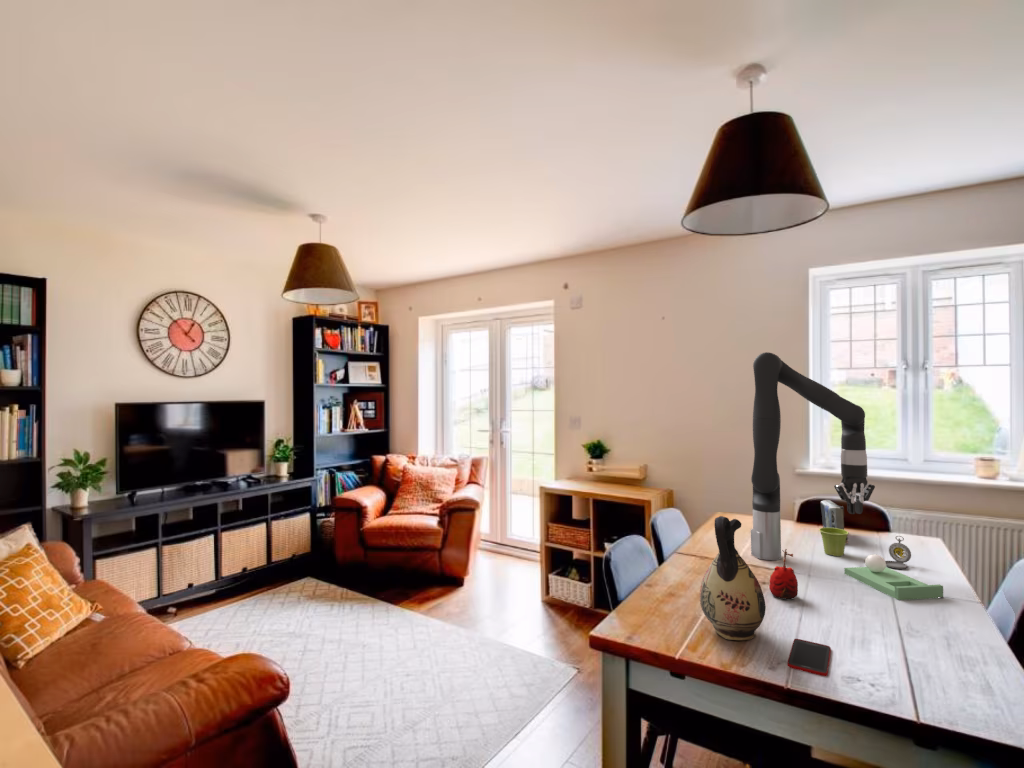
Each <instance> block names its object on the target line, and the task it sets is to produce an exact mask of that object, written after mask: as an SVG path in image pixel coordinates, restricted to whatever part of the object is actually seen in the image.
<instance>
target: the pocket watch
mask: <svg viewBox="0 0 1024 768" xmlns="http://www.w3.org/2000/svg"><path fill="white" fill-rule="evenodd" d="M897 537H899V538H898V539H897ZM901 538H902V539H901ZM895 539H896V540H897V542H893V543H892V544H890V545H889V547H888V553H889V556H890V557H891V558H892V559H893V560H885V562H886V567H887V568H890V569H898V570H903V569H907V567H908V565H907V564H906V563H908V562H909V561H910V560H911V558H912V552H911V550H910V548H909V547H908V546H907V545H906V544H904V543H901V542H903V541H904V540H905V539H904V536H902V535H896V536H895Z"/></svg>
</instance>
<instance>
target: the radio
mask: <svg viewBox="0 0 1024 768" xmlns="http://www.w3.org/2000/svg"><path fill="white" fill-rule="evenodd" d="M820 510H821V512H820V513H821V516H822V517H821V520H822V528H838V529H843V530H845V519H844V517H845V507H844V506H843V505H842V506H841V505H838V504H837V503H835V502H834V501H832V500H830V499H824V500H821V501H820ZM848 535H849V534H848ZM848 535H847V538H846V542H845V545H846V544H849V536H848Z"/></svg>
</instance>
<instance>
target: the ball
mask: <svg viewBox="0 0 1024 768" xmlns="http://www.w3.org/2000/svg"><path fill="white" fill-rule="evenodd" d="M885 561H886V560H885V559H884V558H883V557H882V556H881V555H879V554H875V553H874V554H868V555H867V557H865V559H864V563H865V567H867V568H868V569H869V570H871V571H872V572H876V573H879V572H882V571H884V570H885V568H886V567H887V566H886V562H885Z"/></svg>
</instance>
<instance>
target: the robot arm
mask: <svg viewBox="0 0 1024 768" xmlns="http://www.w3.org/2000/svg"><path fill="white" fill-rule="evenodd" d="M752 365H753V366H752V367H753V375H754V376H753V377H754V387H755V388H754V400H753V408H752V409H753V411H752V438H753V439H752V441H753V448H754V449H753V450H754V453H753V454H754V457H753V466H752V467H753V468H752V474H751V478H750V480H751V484H752V500H751V501H752V528H751V529H750V552H751V555H752V556H754V557H755V558H757V559H759V560H767V561H779V560H781V559H782V536H781V535H782V533H781V532H782V531H781V529H782V526H781V525H782V523H781V478H780V474H779V471H778V462H777V460H778V458H777V456H778V449H779V443H780V436H781V427H782V426H781V422H782V419H781V407H780V400H779V395H778V394H779V393H778V387H779V386H778V384H779V383H781V384H782V385H784V386H785V387H788V388H790V390H792V391H794V392H795V393H797V394H798V395H799V396H801V397H802V398H804V399H805V400H807V401H808V402H810V403H811V404H813V405H815V406H816V407H818V408H820V409H822V410H824V411H826V412H828V413H829V414H831V415H832V416H833V417H835V418H837V419H838V420H840V421H841V422H840V423H841V438H840V439H841V440H840V443H841V445H840V447H841V449H840V450H841V453H840V470H841V471H840V475H841V476H842V478H841V480H840V481H841V482H840V483H839V484H834V485H833V486H834V487H833V488H834V489H835V491H836V492H837V495H838V496H839V498H840V500H842V501H844V502H846V509H847V512H848V514H850V515H855V514H857V515H861V514H863V512H864V511H863V510H864V508H863V507H864V505H863V504H864V502H869V500H870V499H871V496H872V494H873V493H874V490H875V488H876V486H875V484H872V483H869V482H868V480H867V478H868V456H867V455H868V454H867V445H866V441H867V440H866V435H865V420H866V412H865V410H864V409H863V408H862V407H861V406H860V405H858V404H855V403H853V402H851V401H850V400H848V399H846V398H844V397H842V396H840V395H839V394H838V393H836V392H835V391H833V390H832V389H830V388H828V387H827V386H825V385H823V384H822V383H819V382H817V381H816V380H814V379H811V378H809V377H807V376H805V375H804V374H802V373H800V372H798V371H797V370H795V369H793V368H792V367H790V366H789V365H788V364H787V363H785V361H783V360H782V359H781V358H780V357H779V355H776V354H775V353H772V352H768V351H767V352H762V353H760V354H758V355H757V356H756V357H755V358H754V360H753V364H752Z"/></svg>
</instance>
